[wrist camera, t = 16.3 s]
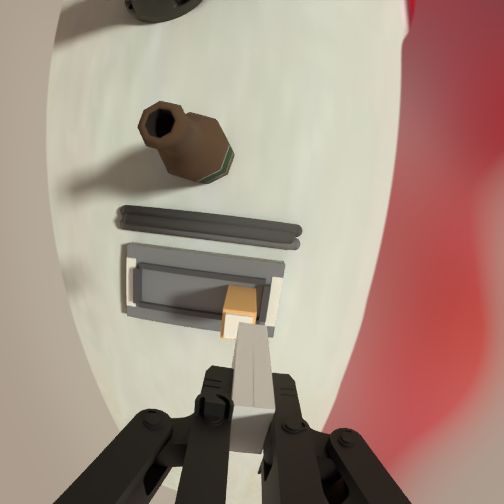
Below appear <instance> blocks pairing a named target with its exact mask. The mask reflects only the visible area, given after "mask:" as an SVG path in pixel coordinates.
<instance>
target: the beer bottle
mask: <svg viewBox="0 0 504 504" xmlns="http://www.w3.org/2000/svg"><path fill="white" fill-rule="evenodd" d="M138 129H139V131H140V134H141V136H142V138H143V140H144V142H145V145H146V146H148V147H152V148H155V149H158V152H159V154H160V156H161V158H162V160H163V162H164V164H165V167H166V169H167V171H168V173H170V174H172V175H176V176H179V177H182V178H185V179H189V180H192V181H195V182H200V183H207V184H209V183H211V182H213V181H215V180H217V179H219V178H221V177H223V176H225V175H227V174H228V172H229V170H230V167H231V164H232V161H233V158H234V152H233V150H232V148H231V146H230V144H229V142H228V140H227V138H226V136H225V134H224V132H223V130H222V129H221V127H220V125H219V123H218V121H217V120H216V119H214V118H210V117H207V116H203V115H199V114H195V113H191V112H189V113H187V114H185V113H184V111H183V109H182V107H181V105H177V104H172V103H168V102H163V101H159V102H157V103H155V104H154V105H152V106H150V107H148V108H147V109H145V110H144V111H143V114H142V116H141V119H140V121H139V124H138Z"/></svg>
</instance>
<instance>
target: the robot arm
mask: <svg viewBox="0 0 504 504" xmlns="http://www.w3.org/2000/svg"><path fill="white" fill-rule="evenodd" d="M201 1H202V0H125V5H126V7H127V9H128V11H129V12H130V13H131V15H132V16H133V17H135V18H136V19H138V20H140V21H144V22H162V21H167V20H171V19H174V18H177V17H179V16H182V15H184V14H186V13H187V12H189V11H191V10H192V9H194V8H195V7H196V6H197V5H198V4H200V2H201ZM297 395H298V394H297V390H296V385H295V381H294V380H293V379H292V377H291V376H290V375H289V374H279V373H272V371H271V361H270V351H269V341H268V331H267V326H265V325H257V324H250V323H243V322H239V325H238V332H237V338H236V344H235V350H234V356H233V362H232V368H226V367H219V366H213V365H212V366H211V367H210V368H209V369H208V370H207V371H206V373H205V377H204V382H203V386H202V390H201V394H199V395H198V396H197V398H196V399H195V410H194V413H193V414H192V415H190V416H187V417H184V418H170V417H169V415H168V414H166V413H165V412H163V411H161V410H157V409H146V410H142V411H140V412H139V413H138V414H136V415H135V417H134V418H133V419H132V420H131V421H130V422H129V423H128V424H127V425H126V426H125V428H124V429H123V430H122V431H121V432H120V433H119V434H118V435H117V436H116V437H115V439H114V440H113V441H112V442H111V443H110V444H109V445H108V446H107V447H106V448H105V449H104V450H103V451H102V453H101V454H100V455H99V456H98V457H97V458H96V459H95V460H94V461H93V462H92V463H91V464H90V465H89V466H88V467H87V469H86V470H85V471H84V472H83V473H82V474H81V475H80V476H79V477H78V478H77V479H76V480H75V481H74V482H73V483H72V485H70V486H69V488H68V489H67V490H66V491H65V492H64V493H63V494H62V495H61V496H60V497H59V498H58V499H57V500H56V501H55V502H54V503H53V504H149V502H150V501H151V499H152V498H153V496H154V495H155V493H156V492H157V490H158V489H159V487H160V486H161V484H162V482H163V481H164V479H165V478H166V476H167V475H168V473H169V472H170V470H171V468H172V467H180V466H183V468H182V472H181V477H180V482H179V486H178V491H177V497H176V501H175V504H225V501H226V487H227V473H228V460H229V451H234V452H243V453H254V454H261V453H262V450H263V453H264V456H263V459H262V462H261V465H260V468H259V471H258V474H261V479H262V504H411V502H410V501H409V500H408V498H407V497H406V496H405V495H404V493H403V492H402V490H401V489H400V488H399V486H398V485H397V484H396V482H395V481H394V480H393V478H392V477H391V476H390V474H389V473H388V472H387V470H386V469H385V468H384V466H383V465H382V464H381V462H380V461H379V460H378V458H377V457H376V455H375V454H374V453H373V451H372V450H371V449H370V447H369V446H368V445H367V443H366V442H365V440H364V439H363V438H362V436H361V435H360V434H359V433H358V432H356V431H354V430H352V429H348V428H339V429H336V430H334V431H333V432H332V433H331V435H330V434H326V433H322V432H318V431H315V430H313V429H311V428H310V427H309V425H308V423H307V422H306V421H305V420H304V419H303V418H302V414H301V409H300V404H299V399H298V396H297Z"/></svg>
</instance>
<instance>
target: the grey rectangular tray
mask: <svg viewBox="0 0 504 504" xmlns="http://www.w3.org/2000/svg"><path fill="white" fill-rule="evenodd" d="M284 269H285V263H284V261H276V260H268V259H260V258H252V257H244V256H236V255H228V254H220V253H212V252H204V251H196V250H188V249H180V248H172V247H165V246H157V245H149V244H141V243H134V242H132V243H130V244H128V245H127V265H126V295H127V316H130V317H135V318H140V319H145V320H151V321H156V322H162V323H167V324H173V325H179V326H186V327H192V328H199V329H206V330H213V331H220V332H221V325H222V315H223V307H224V303H225V299H226V295H227V290H228V286H229V285H234V286H242V287H250V288H256V303H257V315H256V322H255V324H257V325H265V326H267V331H268V337H273V334H274V329H275V323H276V318H277V312H278V306H279V300H280V294H281V288H282V282H283V276H284Z"/></svg>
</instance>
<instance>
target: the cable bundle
mask: <svg viewBox="0 0 504 504" xmlns="http://www.w3.org/2000/svg"><path fill="white" fill-rule="evenodd" d="M121 214H122V215H123V218H122V220H121V221H120V227H121V228H122V229H125V230H134V231H142V232H151V233H159V234H167V235H176V236H184V237H192V238H201V239H209V240H217V241H225V242H233V243H241V244H249V245H257V246H265V247H273V248H281V249H289V250H297V249H298V248H299V247H300V241H299V240H298V239H297V238H295V237H298V236H300V235H301V234H302V228H301V226H299V225H297V224H289V223H282V222H275V221H267V220H259V219H252V218H244V217H235V216H227V215H219V214H210V213H201V212H192V211H183V210H173V209H163V208H153V207H142V206H132V205H124V206H123V207H122V208H121Z"/></svg>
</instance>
